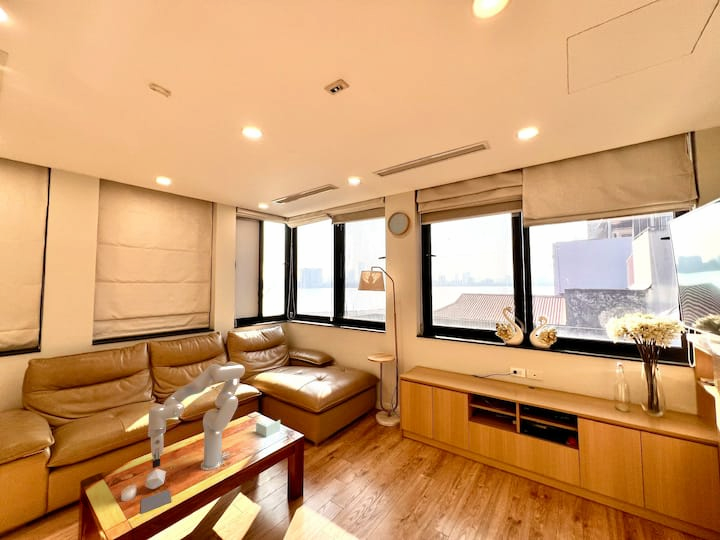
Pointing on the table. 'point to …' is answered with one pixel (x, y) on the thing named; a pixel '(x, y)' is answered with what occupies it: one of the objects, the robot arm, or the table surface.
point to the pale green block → (267, 428)
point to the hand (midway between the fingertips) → (156, 466)
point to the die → (155, 479)
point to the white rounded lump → (128, 493)
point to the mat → (155, 501)
